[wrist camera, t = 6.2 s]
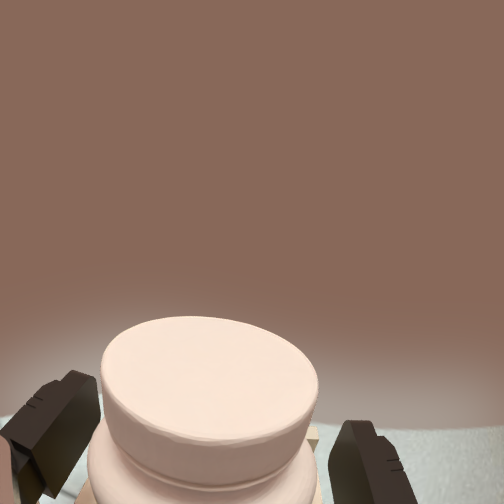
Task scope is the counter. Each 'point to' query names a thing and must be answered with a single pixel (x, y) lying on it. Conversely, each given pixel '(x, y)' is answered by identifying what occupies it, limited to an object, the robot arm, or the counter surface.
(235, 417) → the supplement bottle
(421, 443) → the counter surface
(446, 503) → the counter surface
